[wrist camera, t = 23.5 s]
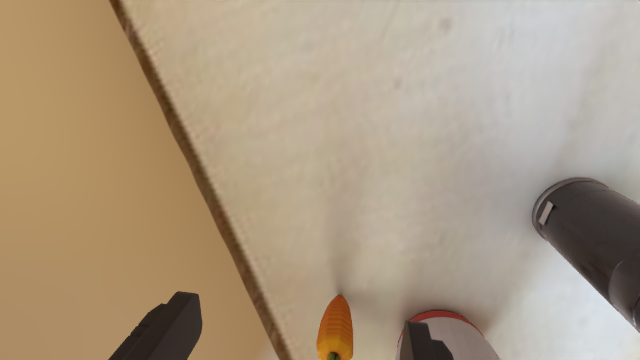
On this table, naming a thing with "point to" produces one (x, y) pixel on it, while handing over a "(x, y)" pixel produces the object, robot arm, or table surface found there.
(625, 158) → the table surface
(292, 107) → the table surface
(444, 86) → the table surface
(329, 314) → the carrot
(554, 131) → the table surface
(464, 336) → the citrus juicer
